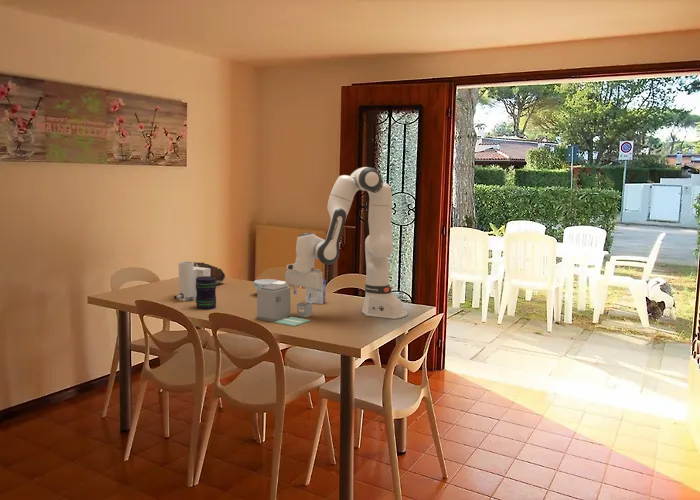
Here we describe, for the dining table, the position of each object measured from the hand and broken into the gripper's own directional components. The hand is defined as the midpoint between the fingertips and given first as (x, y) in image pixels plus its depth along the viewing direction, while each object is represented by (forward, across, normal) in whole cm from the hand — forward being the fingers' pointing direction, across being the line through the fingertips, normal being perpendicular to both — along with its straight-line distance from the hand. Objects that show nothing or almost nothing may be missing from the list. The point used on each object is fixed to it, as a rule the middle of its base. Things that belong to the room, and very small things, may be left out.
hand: (303, 295), depth 283 cm
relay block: (+10, -1, -1) cm, 10 cm away
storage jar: (+11, +48, +15) cm, 52 cm away
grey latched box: (+10, +8, +11) cm, 17 cm away
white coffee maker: (+12, +69, +8) cm, 71 cm away
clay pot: (+11, +89, -26) cm, 94 cm away
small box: (+10, +19, -7) cm, 23 cm away
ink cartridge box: (+10, +12, -28) cm, 32 cm away
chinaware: (+10, +44, -27) cm, 53 cm away
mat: (+10, -4, +12) cm, 16 cm away
